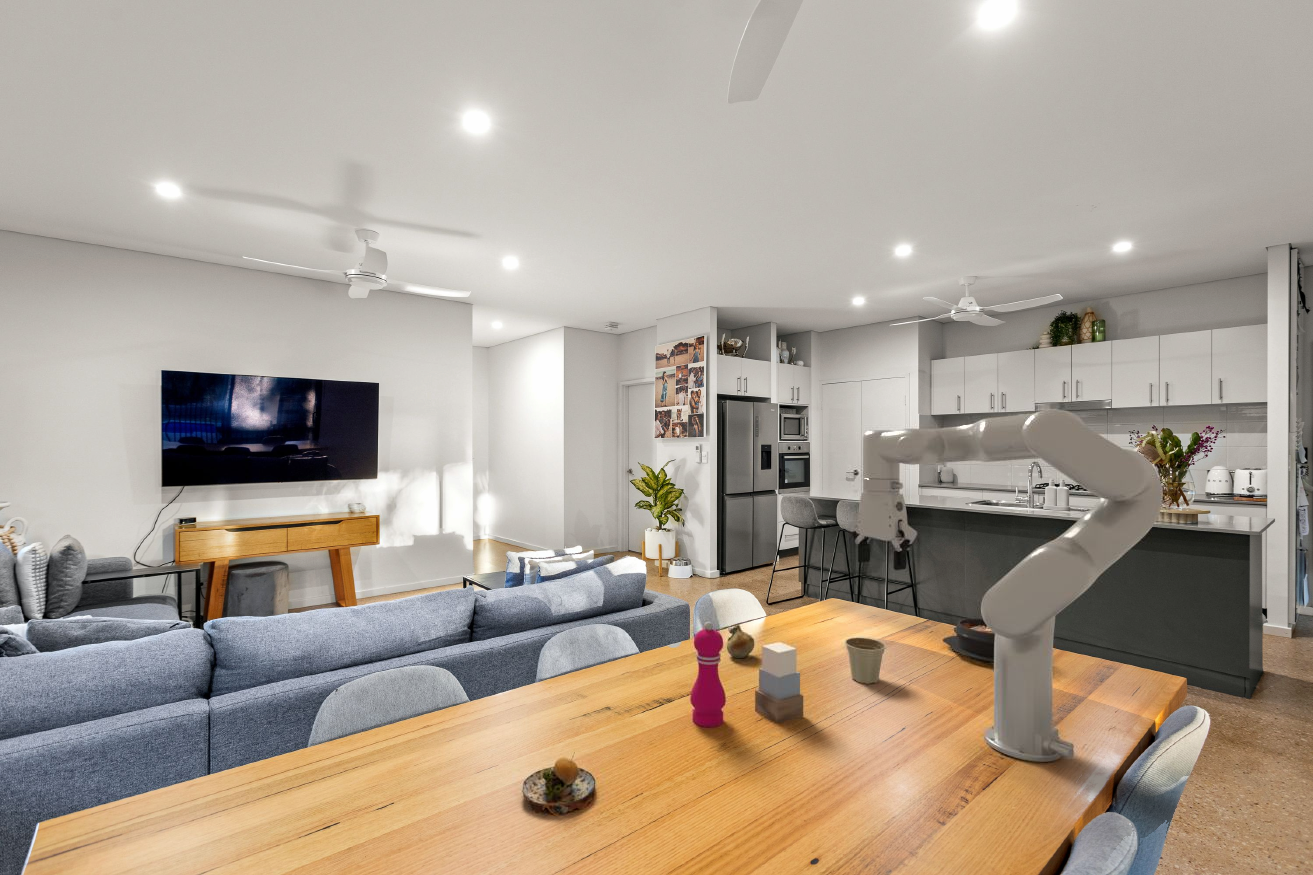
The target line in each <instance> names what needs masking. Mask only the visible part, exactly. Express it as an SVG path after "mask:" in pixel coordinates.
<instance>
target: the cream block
mask: <svg viewBox="0 0 1313 875" xmlns="http://www.w3.org/2000/svg"><path fill="white" fill-rule="evenodd" d="M761 649H762V650H761V668H762V670H764V671H766V672H768V673H770V674H772V675H775V676H777V677H782V676H786V675H790V674H794V673H796V671H797V662H798V661H797V658H798V657H797V654H798V653H797V651H798V650H797V648H796V647H793V646H790V645H788V644H785V643H783V642H781V641H780V642H775V643H770V644H764V645H762V646H761Z"/></svg>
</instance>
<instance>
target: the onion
mask: <svg viewBox="0 0 1313 875" xmlns="http://www.w3.org/2000/svg"><path fill="white" fill-rule="evenodd" d="M727 630H728V633H729V634H730V635H731V636H730V637H728V638H727V643H726V649H727V653H728V654H729V655H730V656H731V657H733V658H736V659H744V658H747V657H748V656H749V655H750V654H751V653H752V652H753V650H754V648H755V639H754V637H753V636H752V635H750V634H748V632H745V631H744V630H742V628H741V625H739V624H737V625H734V626H733V627H731V626H729V627H728V628H727Z"/></svg>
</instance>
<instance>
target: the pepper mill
mask: <svg viewBox="0 0 1313 875" xmlns="http://www.w3.org/2000/svg"><path fill="white" fill-rule="evenodd" d="M703 626H704V628H702V629H700V630H698V631H697V632H696V634H695V636H694V638H693V646H694V648H695V650H696V653H695V655H696V657H695V661H696V662H697V663H698V664H697V665H698V673H697V677H696V680H695V682H694V684H693V686H692V687H691V691H690V698H689V699H690V700H689V701H690V705H692V707H693V708H694V709H693V710H692V714H691V715H692V722H693V723H694V724H696V725H697V726H700V727H704V728H715V727H719V726H721V725H722V724H723V722H724V711H723V710H722V709H723V708H724V707H725V705H726V702H727V700H726V699H727V698H726V692H725V689H724V687H723V684H722V682H721V680H720V676H719V663H720V662H721V657H722V655H721V653H720V652H721V651H722V649H723V648H724V638H723V636H722V634H721V633H720V632H719V631H717V630H716V629H714V625H713V623H712V622H711V621H707V622H705V623H704V625H703Z"/></svg>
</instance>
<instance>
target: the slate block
mask: <svg viewBox="0 0 1313 875" xmlns="http://www.w3.org/2000/svg"><path fill="white" fill-rule="evenodd" d="M758 690H760V691H762V692H764V693H766V694H767V695H769V696H771V697H773V698H775V699H777V700H780V699H784V698H788V697H792V696H796V695H799V694H801V672H800V671H797V670H796V673H794V674H790V675H786V676H782V677H777V676H775V675H772V674H770V673H768V672H766V671H764V670H762V667H761V668H758Z"/></svg>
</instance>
